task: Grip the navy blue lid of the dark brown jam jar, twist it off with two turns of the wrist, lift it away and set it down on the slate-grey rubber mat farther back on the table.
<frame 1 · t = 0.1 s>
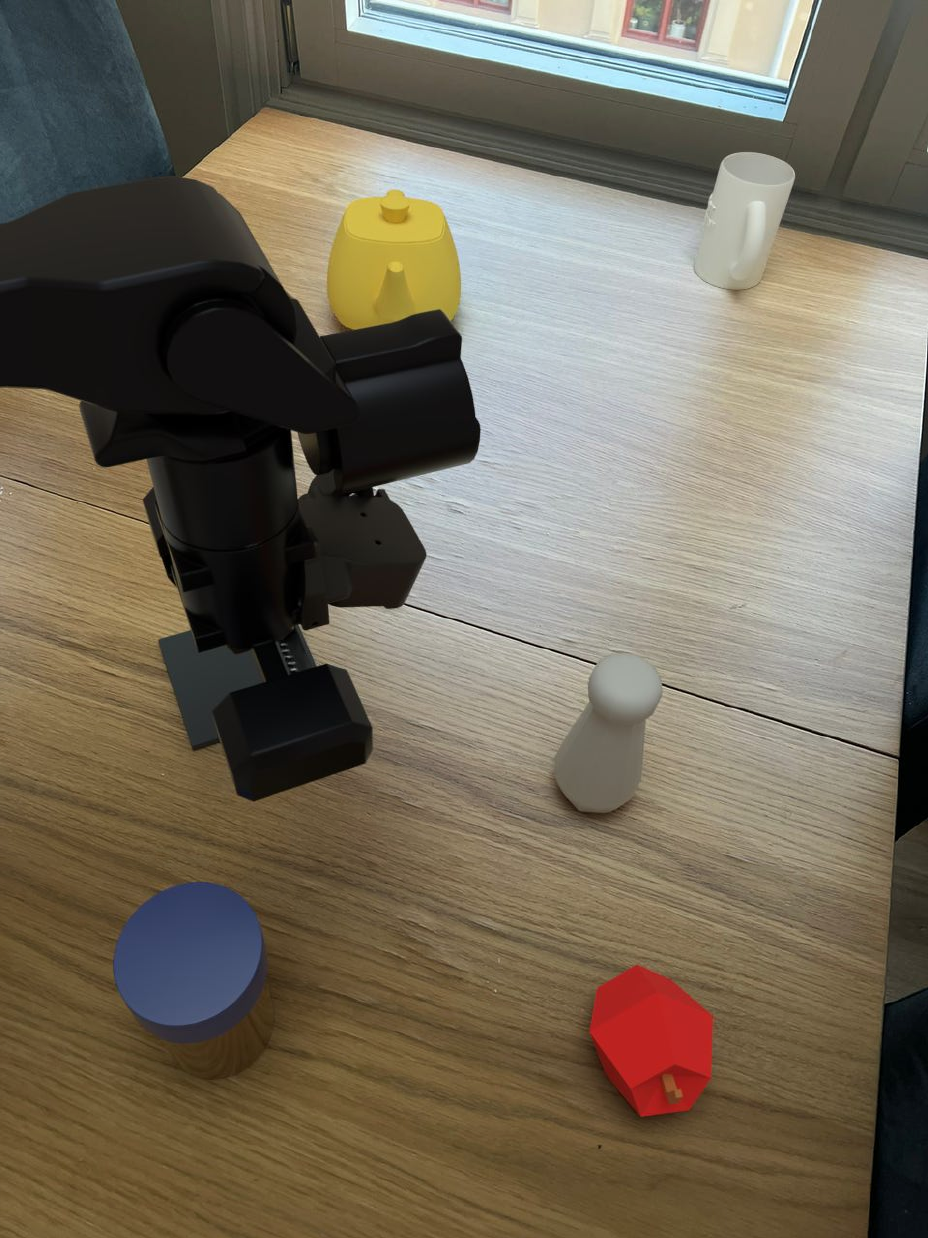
hand: (265, 711, 51), 12 cm above the table, tool pointing down, fingers open, 9 cm apart
salt shaker: (590, 788, 64), on the table
jam jar: (220, 1022, 52), on the table
mat: (244, 674, 68), on the table
apple: (638, 1054, 53), on the table
teapot: (394, 327, 98), on the table
mug: (727, 282, 108), on the table
jar lid: (189, 953, 44), point 11 cm above the table, screwed on, not yet turned
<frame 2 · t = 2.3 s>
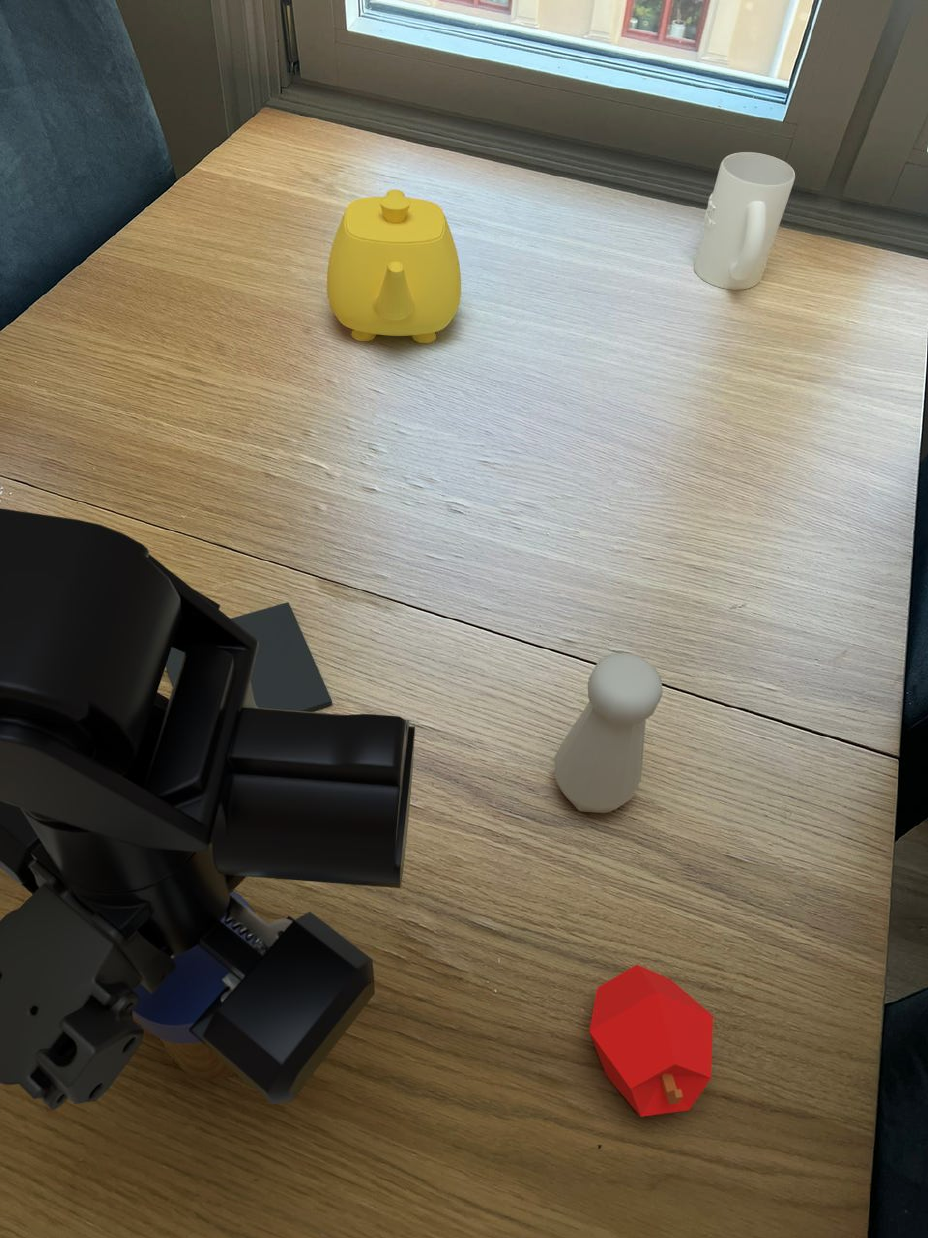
hand: (196, 970, 46), 8 cm above the table, tool pointing down, fingers closed on jar lid, 7 cm apart
jar lid: (189, 953, 44), point 11 cm above the table, screwed on, not yet turned, touching gripper
everything else where it was.
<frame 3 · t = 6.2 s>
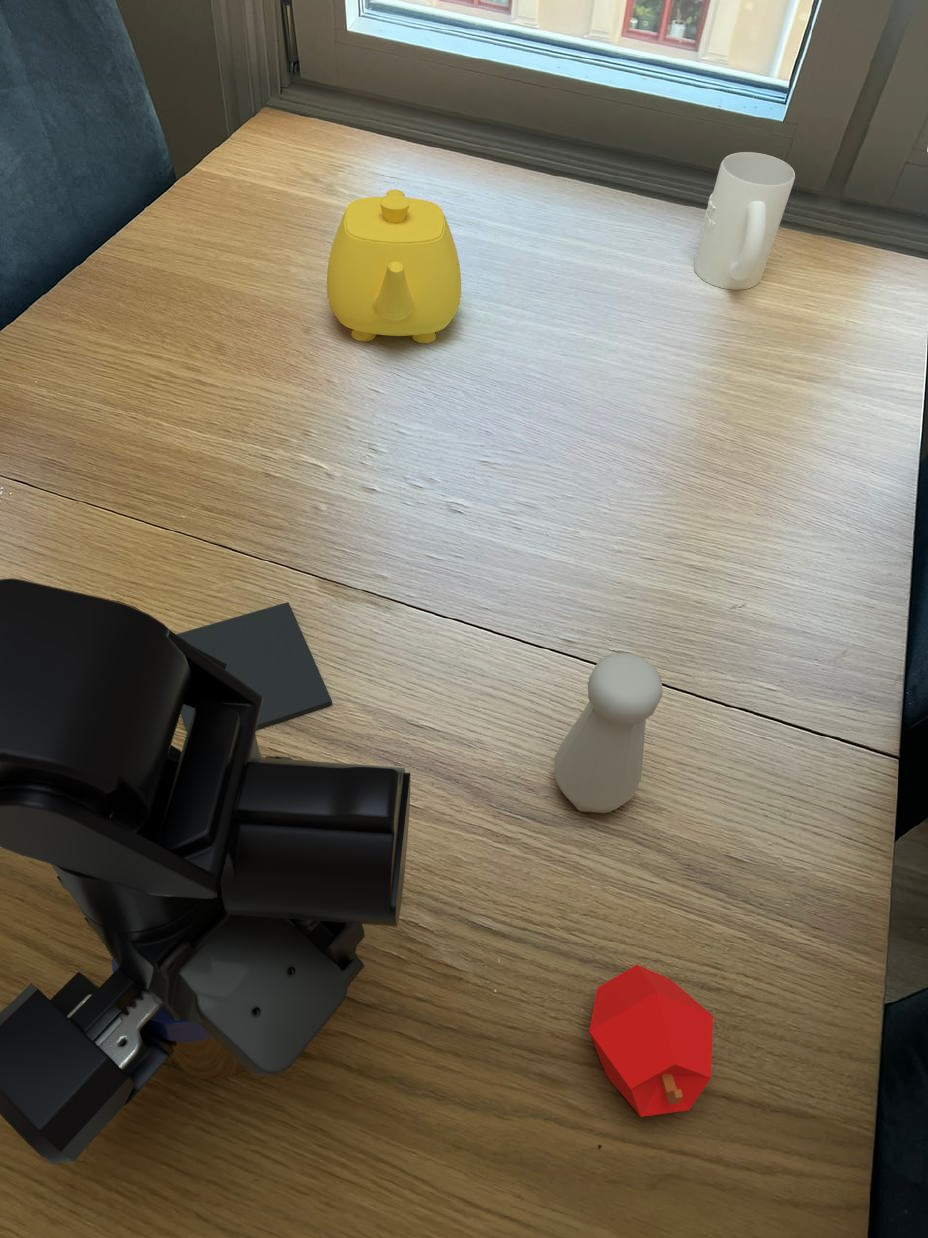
hand: (211, 996, 49), 5 cm above the table, tool pointing down, fingers closed on jar lid, 6 cm apart
jar lid: (189, 951, 44), point 11 cm above the table, turned 91° so far, risen 0.2 cm, still on its thread, touching gripper
everything else where it was.
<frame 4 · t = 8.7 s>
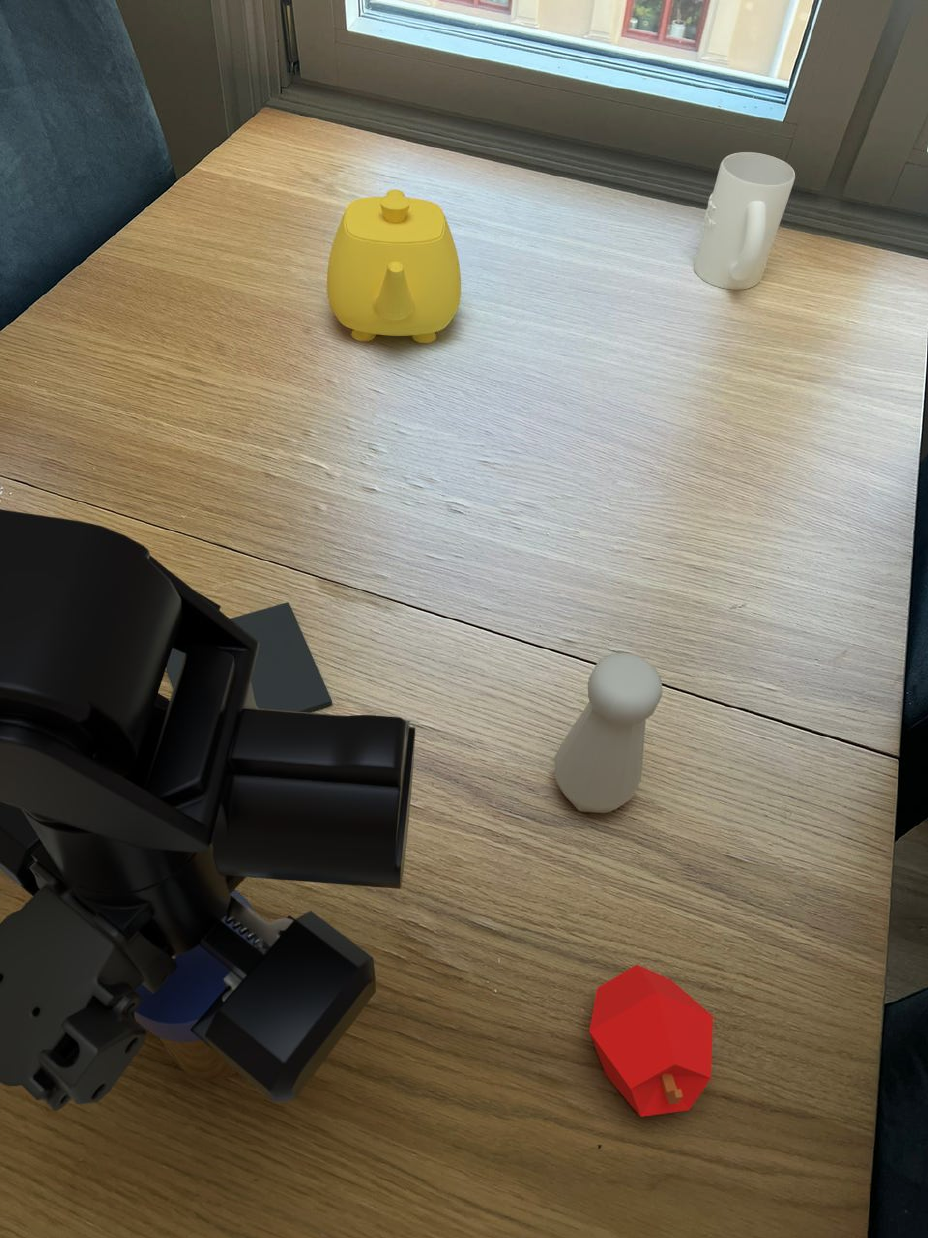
hand: (197, 970, 46), 8 cm above the table, tool pointing down, fingers closed on jar lid, 7 cm apart
jar lid: (189, 951, 44), point 11 cm above the table, turned 92° so far, risen 0.3 cm, still on its thread, touching gripper
everything else where it was.
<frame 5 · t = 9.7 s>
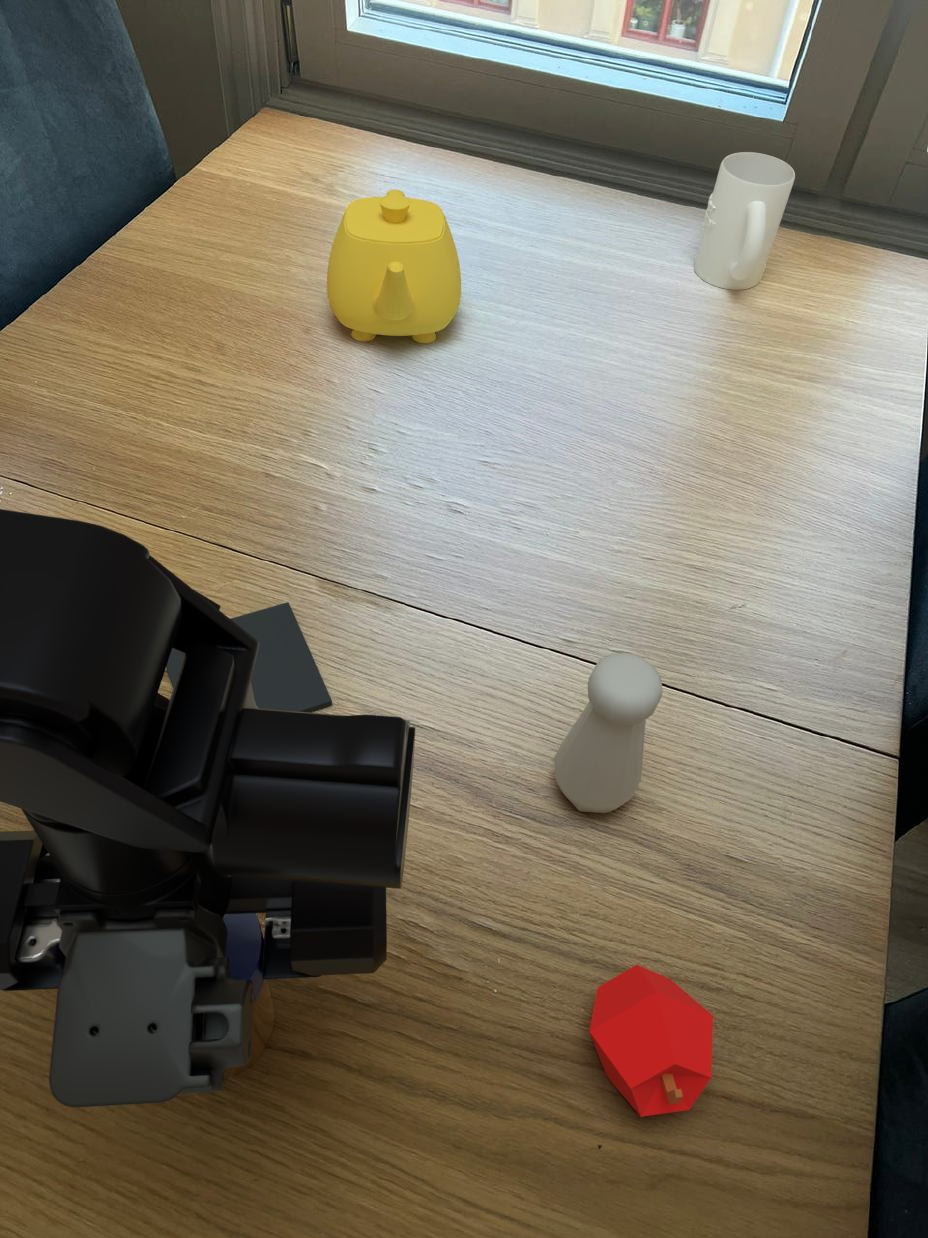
hand: (197, 970, 46), 8 cm above the table, tool pointing down, fingers closed on jar lid, 7 cm apart
jar lid: (189, 951, 44), point 11 cm above the table, off its thread, touching gripper
everything else where it was.
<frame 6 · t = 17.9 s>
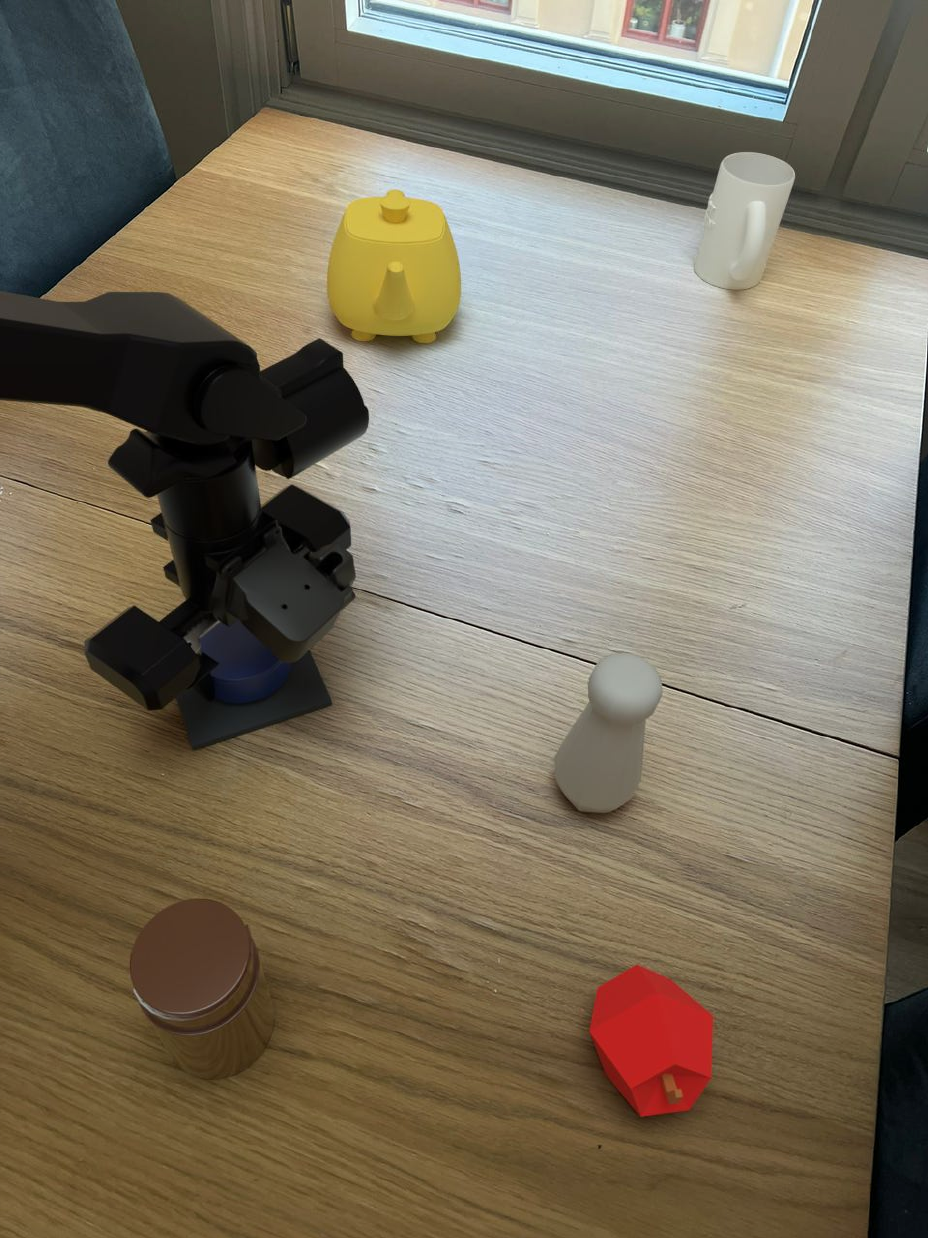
hand: (242, 665, 67), 1 cm above the table, tool pointing down, fingers closed on jar lid, 7 cm apart
jar lid: (239, 643, 65), point 4 cm above the table, off its thread, touching gripper
everything else where it was.
when the fingers open (2 cm above the table, at t = 28.8 s): jar lid drops 2 cm, resting on mat.
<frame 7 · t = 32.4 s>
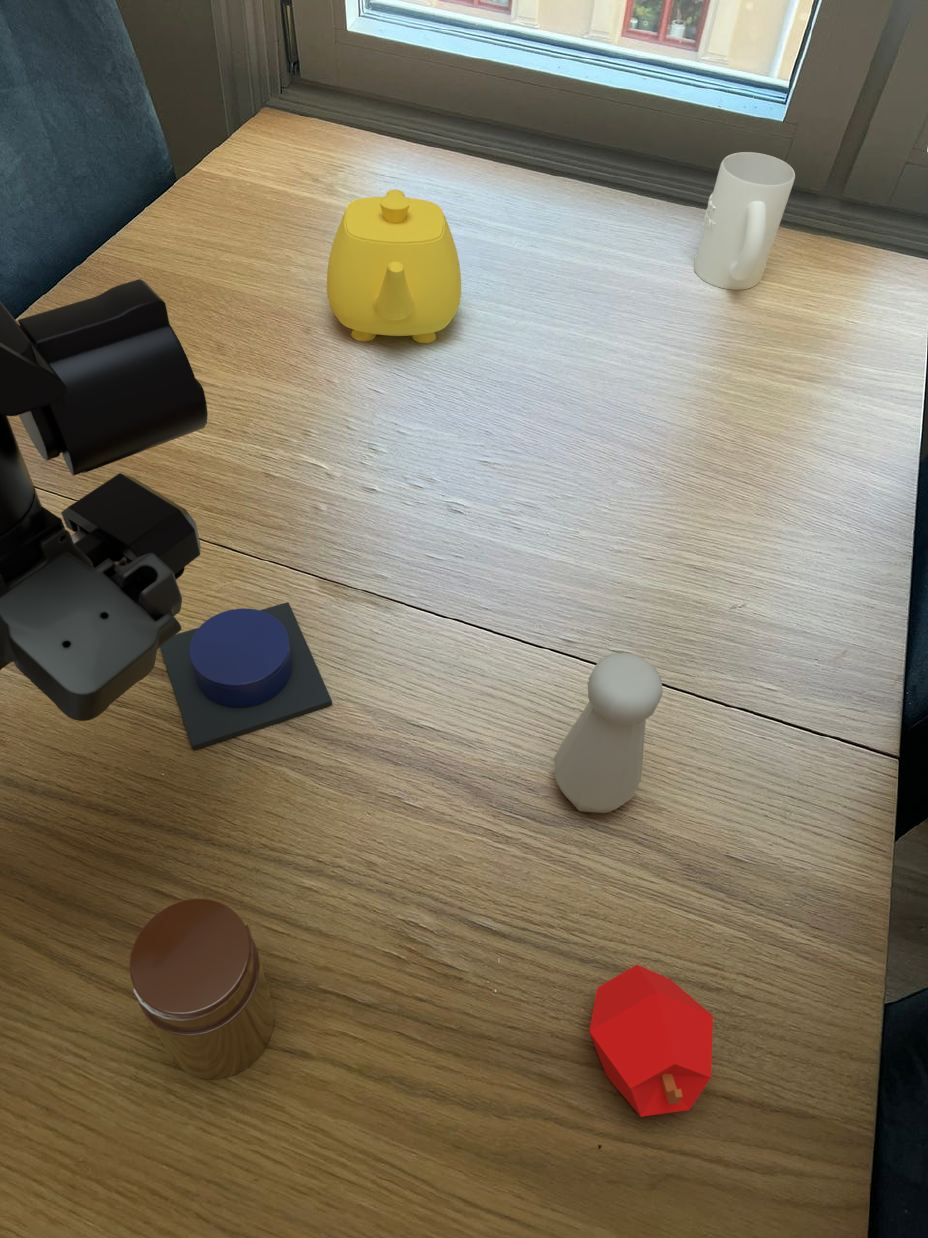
hand: (62, 713, 51), 12 cm above the table, tool pointing down, fingers open, 9 cm apart
jar lid: (240, 648, 66), point 3 cm above the table, off its thread, touching mat
everything else where it was.
at the end: jar lid inside the target area on the mat (0.1 cm from its centre), point 3.0 cm above the mat's base; the gripper is holding nothing; jar lid moved 25.5 cm from its start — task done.
